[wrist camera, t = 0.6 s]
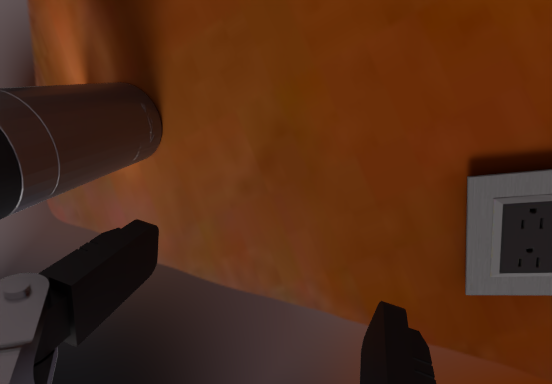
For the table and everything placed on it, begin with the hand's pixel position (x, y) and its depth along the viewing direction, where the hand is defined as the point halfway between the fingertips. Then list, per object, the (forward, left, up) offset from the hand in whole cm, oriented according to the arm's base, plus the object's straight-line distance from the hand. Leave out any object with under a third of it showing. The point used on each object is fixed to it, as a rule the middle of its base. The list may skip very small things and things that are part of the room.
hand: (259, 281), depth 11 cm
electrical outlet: (+19, -10, -25) cm, 33 cm away
